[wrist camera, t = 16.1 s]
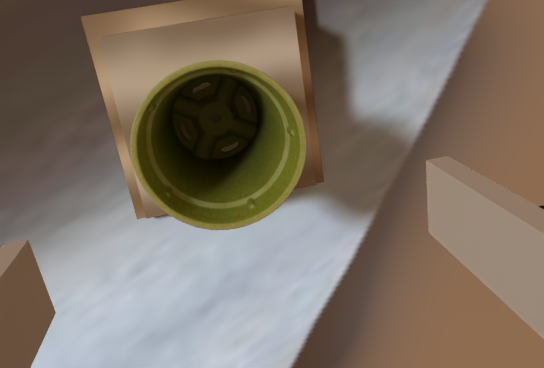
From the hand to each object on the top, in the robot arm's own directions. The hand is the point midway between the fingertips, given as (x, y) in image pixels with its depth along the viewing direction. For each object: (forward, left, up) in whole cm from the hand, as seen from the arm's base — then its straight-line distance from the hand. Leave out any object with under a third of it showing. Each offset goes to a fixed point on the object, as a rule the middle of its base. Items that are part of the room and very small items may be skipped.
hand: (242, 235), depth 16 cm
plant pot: (0, 0, -19) cm, 19 cm away
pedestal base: (0, 0, -25) cm, 25 cm away
